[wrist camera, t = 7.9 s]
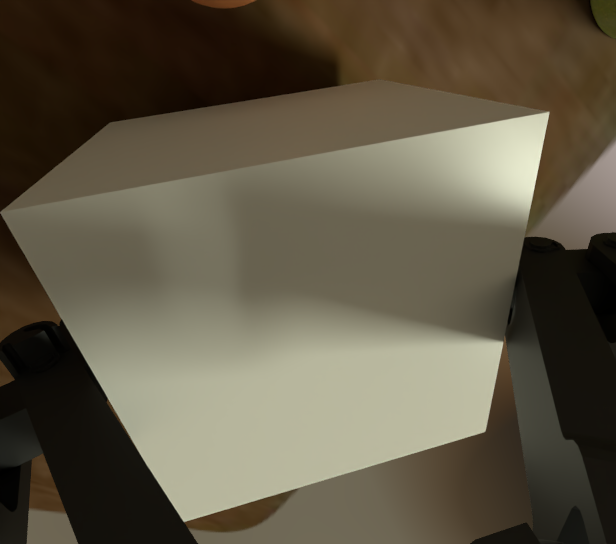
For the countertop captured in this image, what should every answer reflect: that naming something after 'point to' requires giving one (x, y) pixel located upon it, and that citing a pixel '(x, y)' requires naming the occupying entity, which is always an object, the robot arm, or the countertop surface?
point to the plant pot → (605, 15)
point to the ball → (223, 3)
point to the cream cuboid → (289, 278)
